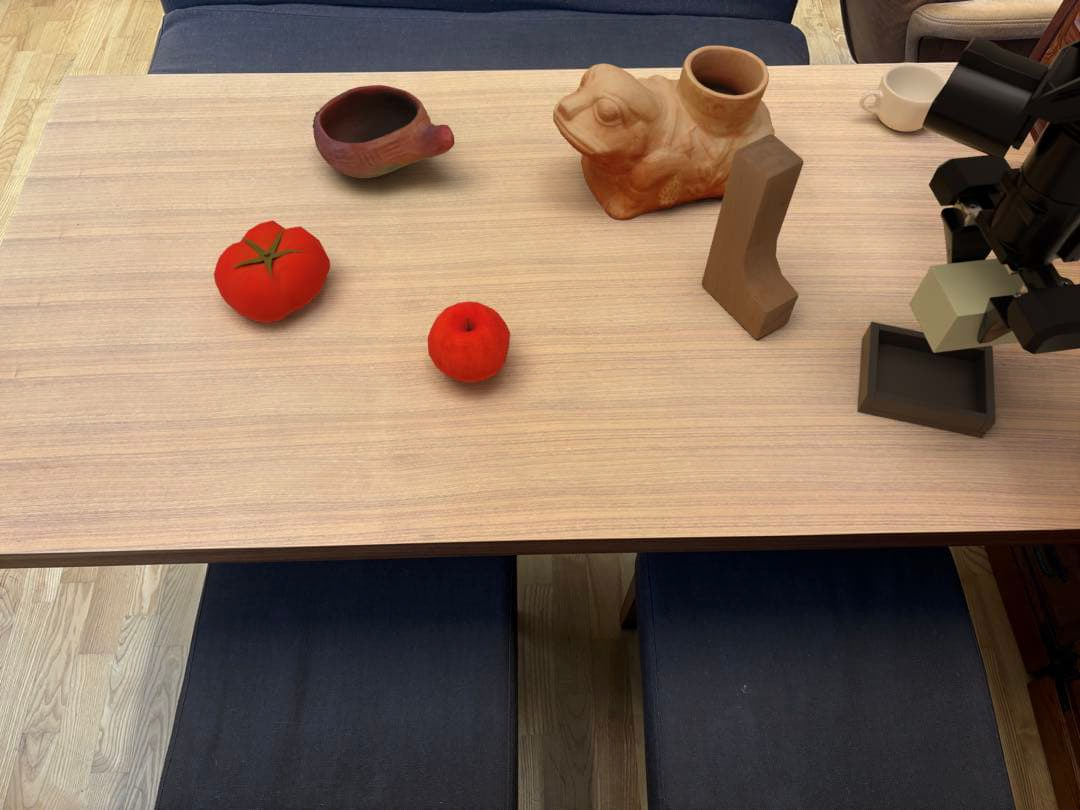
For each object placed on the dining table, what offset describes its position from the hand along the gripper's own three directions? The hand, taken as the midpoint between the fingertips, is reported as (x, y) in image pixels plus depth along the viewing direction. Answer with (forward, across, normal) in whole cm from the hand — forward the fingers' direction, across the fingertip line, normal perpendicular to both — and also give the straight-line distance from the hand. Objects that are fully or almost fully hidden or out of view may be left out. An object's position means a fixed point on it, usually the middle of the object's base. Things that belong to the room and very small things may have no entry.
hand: (968, 315), depth 74 cm
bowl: (+11, +40, +49) cm, 64 cm away
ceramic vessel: (+11, +33, +18) cm, 39 cm away
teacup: (+11, +38, -12) cm, 42 cm away
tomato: (+11, +21, +62) cm, 66 cm away
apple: (+11, +9, +43) cm, 45 cm away
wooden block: (+11, +13, +14) cm, 22 cm away
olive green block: (+1, 0, 0) cm, 1 cm away
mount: (+11, 0, 0) cm, 11 cm away
